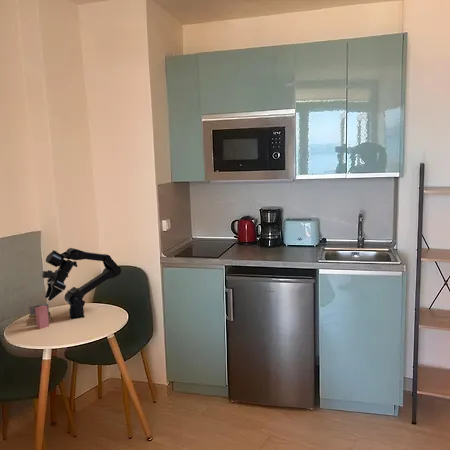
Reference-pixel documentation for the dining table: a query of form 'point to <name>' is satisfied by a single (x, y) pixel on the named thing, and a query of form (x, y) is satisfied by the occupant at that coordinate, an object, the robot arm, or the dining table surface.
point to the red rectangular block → (42, 317)
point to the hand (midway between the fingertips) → (47, 299)
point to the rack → (33, 315)
